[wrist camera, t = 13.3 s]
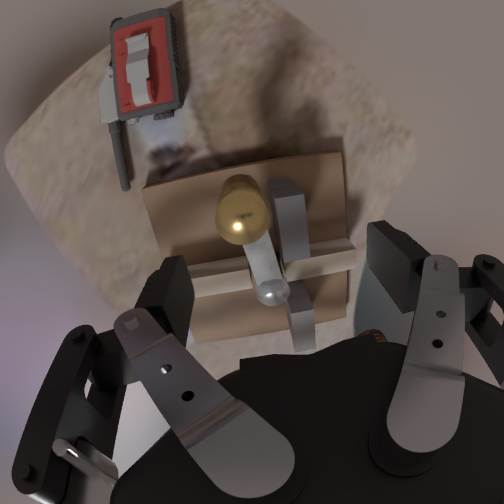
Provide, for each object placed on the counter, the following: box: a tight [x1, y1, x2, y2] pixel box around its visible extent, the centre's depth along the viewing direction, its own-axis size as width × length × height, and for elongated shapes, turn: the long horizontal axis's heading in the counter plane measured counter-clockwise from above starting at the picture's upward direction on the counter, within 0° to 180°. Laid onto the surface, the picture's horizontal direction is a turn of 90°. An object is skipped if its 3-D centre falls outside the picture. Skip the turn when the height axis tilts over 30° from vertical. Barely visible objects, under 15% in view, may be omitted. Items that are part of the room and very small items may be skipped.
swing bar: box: [215, 174, 290, 306], centre depth 22 cm, size 13×3×7 cm, turn 17°
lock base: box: [141, 150, 356, 352], centre depth 30 cm, size 22×21×8 cm
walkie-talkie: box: [99, 8, 184, 191], centre depth 22 cm, size 9×4×20 cm
